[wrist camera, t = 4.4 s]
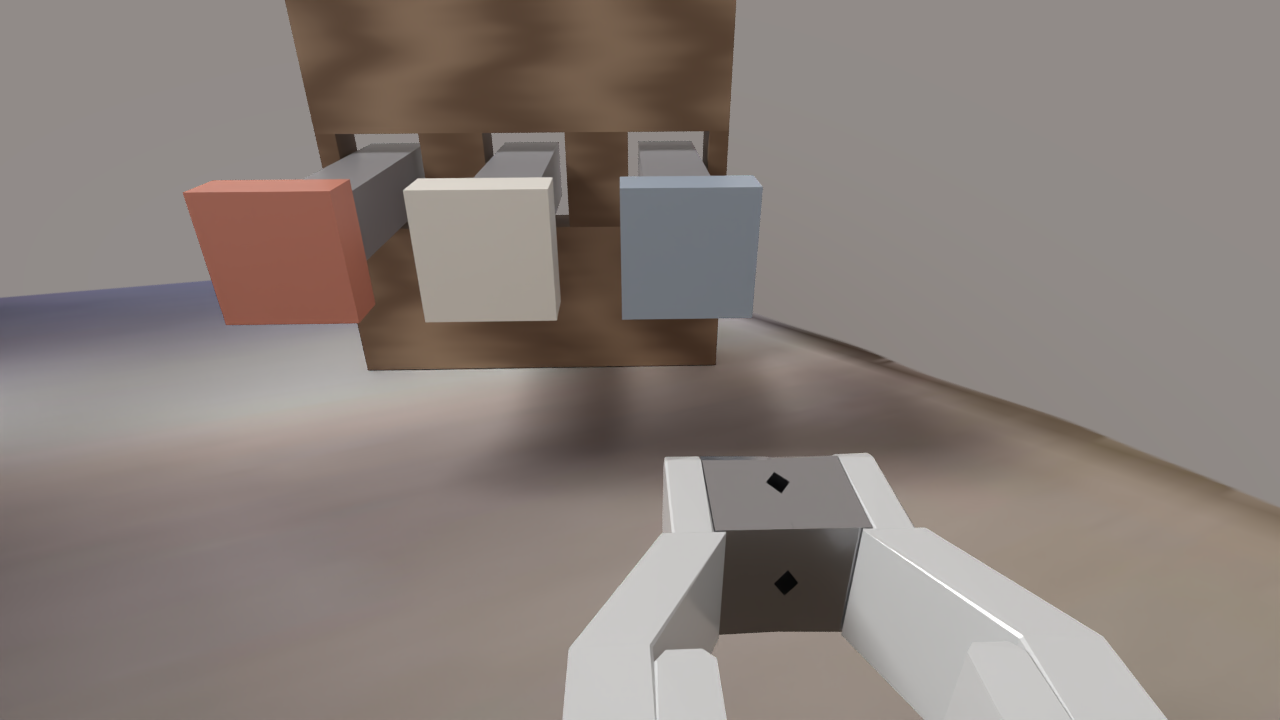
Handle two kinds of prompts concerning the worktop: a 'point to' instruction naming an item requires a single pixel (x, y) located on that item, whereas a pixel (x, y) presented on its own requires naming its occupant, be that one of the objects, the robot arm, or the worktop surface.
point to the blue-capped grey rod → (687, 237)
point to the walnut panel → (521, 102)
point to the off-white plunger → (490, 238)
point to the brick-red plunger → (303, 237)
